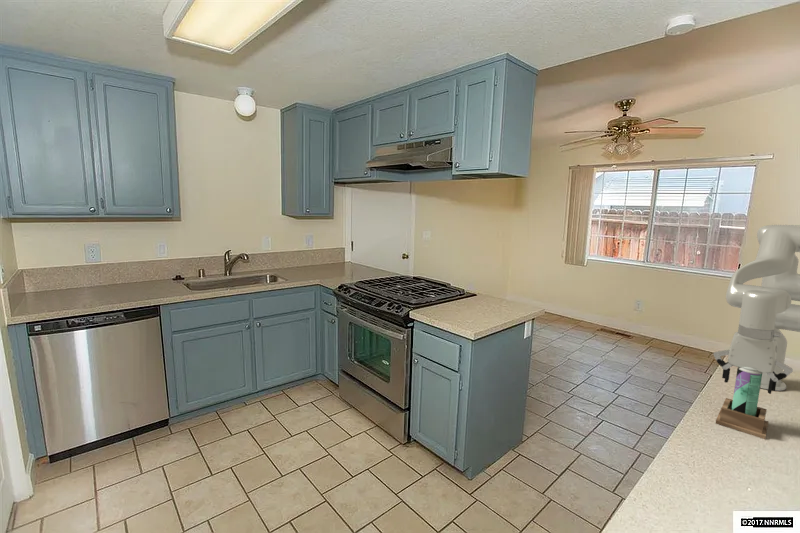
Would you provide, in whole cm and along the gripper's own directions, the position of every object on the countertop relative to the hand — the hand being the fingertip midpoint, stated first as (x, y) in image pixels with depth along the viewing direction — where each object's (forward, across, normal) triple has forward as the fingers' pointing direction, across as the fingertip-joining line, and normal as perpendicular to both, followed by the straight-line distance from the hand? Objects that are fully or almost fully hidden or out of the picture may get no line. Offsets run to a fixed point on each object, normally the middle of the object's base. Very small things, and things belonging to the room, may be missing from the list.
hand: (747, 386), depth 112 cm
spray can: (+11, 0, 0) cm, 11 cm away
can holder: (+12, 0, +1) cm, 12 cm away
